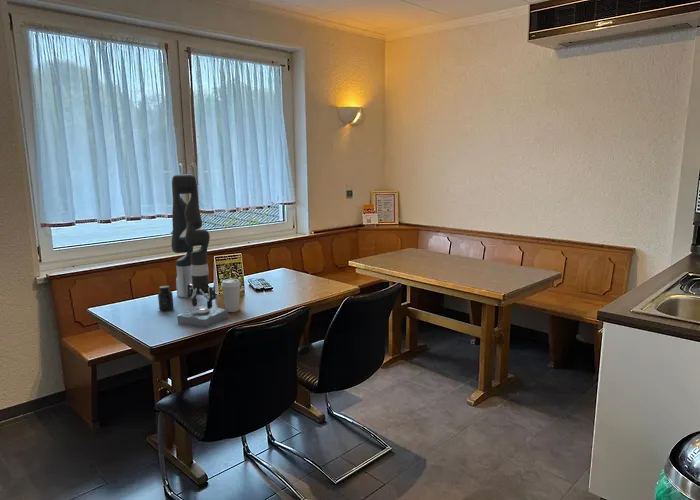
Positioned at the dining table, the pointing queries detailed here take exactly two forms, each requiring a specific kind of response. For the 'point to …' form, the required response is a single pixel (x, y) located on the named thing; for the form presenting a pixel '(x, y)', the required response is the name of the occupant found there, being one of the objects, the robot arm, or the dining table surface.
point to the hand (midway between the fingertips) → (202, 307)
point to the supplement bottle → (165, 299)
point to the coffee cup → (231, 294)
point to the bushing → (202, 310)
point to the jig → (202, 317)
